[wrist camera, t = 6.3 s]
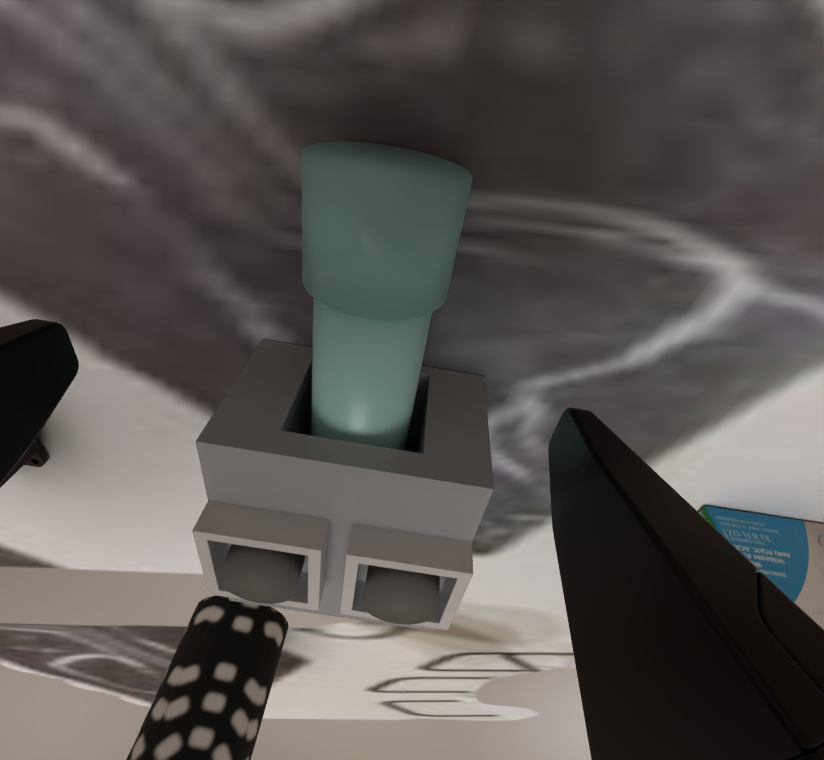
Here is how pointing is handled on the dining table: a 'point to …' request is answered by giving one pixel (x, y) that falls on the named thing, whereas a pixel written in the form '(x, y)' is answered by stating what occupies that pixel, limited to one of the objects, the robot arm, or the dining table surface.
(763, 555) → the milk carton
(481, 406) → the housing
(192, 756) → the spotted tube
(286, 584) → the plunger
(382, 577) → the plunger
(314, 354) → the cartridge
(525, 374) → the dining table surface
